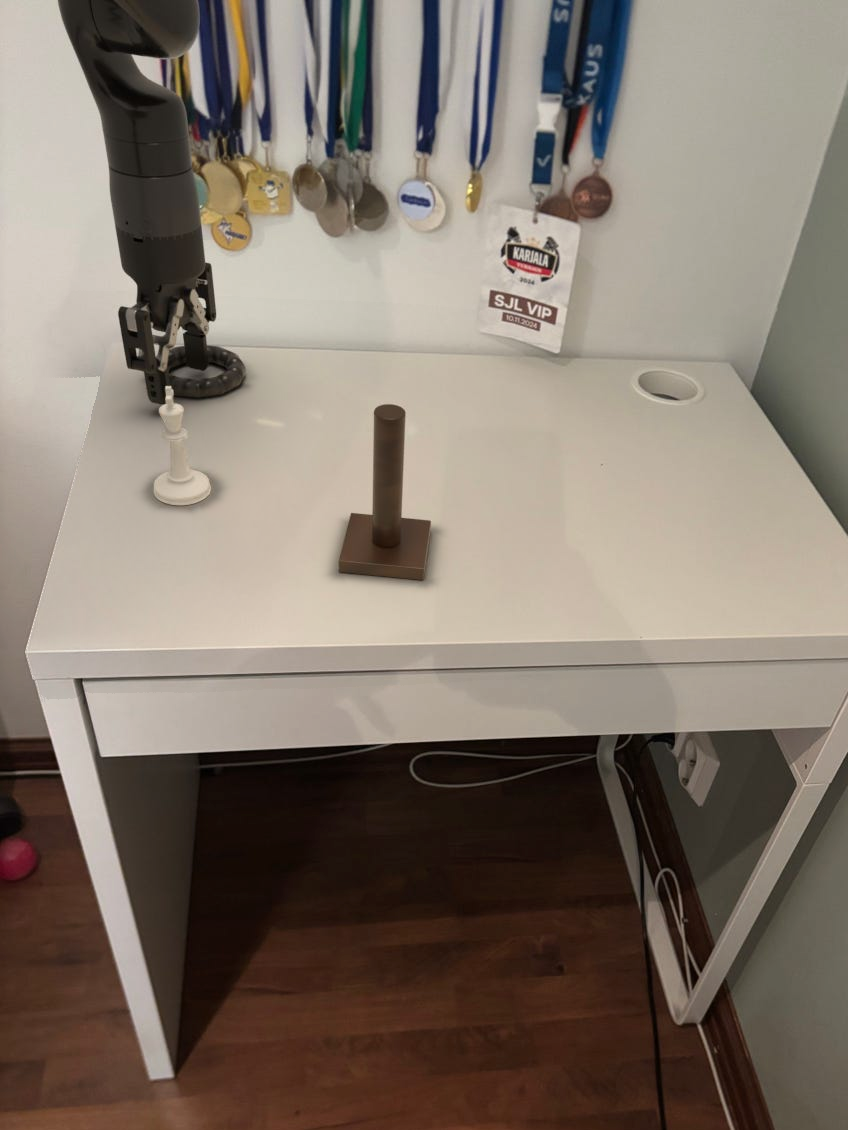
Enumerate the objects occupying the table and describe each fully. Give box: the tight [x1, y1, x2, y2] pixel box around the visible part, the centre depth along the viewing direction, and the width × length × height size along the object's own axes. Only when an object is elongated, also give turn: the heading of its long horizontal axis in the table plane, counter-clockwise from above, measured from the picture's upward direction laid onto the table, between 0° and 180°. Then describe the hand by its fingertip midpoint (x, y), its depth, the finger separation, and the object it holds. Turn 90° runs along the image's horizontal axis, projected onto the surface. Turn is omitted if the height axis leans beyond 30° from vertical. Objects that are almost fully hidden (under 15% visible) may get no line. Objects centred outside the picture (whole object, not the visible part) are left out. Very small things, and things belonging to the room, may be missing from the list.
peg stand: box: [338, 403, 432, 581], centre depth 77 cm, size 7×7×13 cm
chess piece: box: [153, 386, 212, 506], centre depth 82 cm, size 5×5×10 cm
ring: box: [155, 344, 247, 399], centre depth 100 cm, size 10×10×2 cm
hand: (180, 384), depth 97 cm, fingers open, 7 cm apart
